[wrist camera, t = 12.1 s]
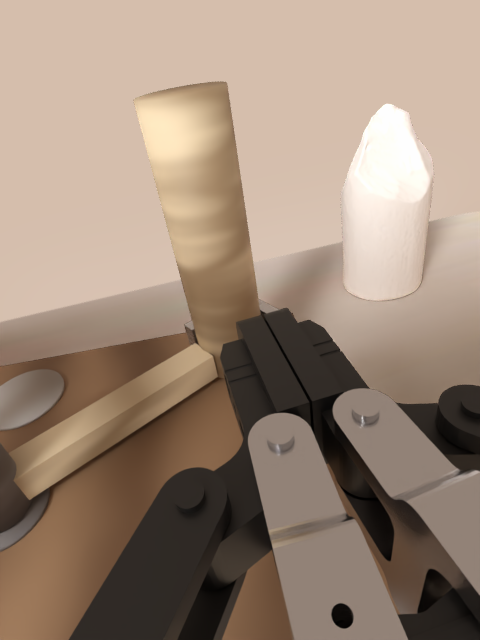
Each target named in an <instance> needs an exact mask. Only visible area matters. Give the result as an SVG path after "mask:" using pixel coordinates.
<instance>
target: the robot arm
mask: <svg viewBox="0 0 480 640" xmlns="http://www.w3.org/2000/svg"><path fill="white" fill-rule="evenodd" d="M236 329H237V334H238V339H239V340H236V341H232V342H228V343H225V344H223V347H222V351H221V355H220V360H221V364H222V369H223V373H224V377H225V381H226V386H227V390H228V394H229V398H230V401H231V404H232V407H233V410H234V413H235V416H236V419H237V422H238V425H239V428H240V431H241V434H242V437H243V442H242V445H241V447H240V448H239V450H238V452H237V453H236V454H235V455H234V456H233V457H232V458H231V459H230V460H229V461H228V462H226V463H225V464H223V465H222V466H220V467H219V468H217V469H216V470H214V471H212V470H210V469H207V468H203V467H194V468H188V469H185V470H182V471H180V472H178V473H176V474H175V475H173V476H172V477H171V478H170V479H168V481H167V482H166V483H165V484H164V485H163V487H162V488H161V489H160V491H159V493H158V494H157V496H156V498H155V499H154V501H153V503H152V504H151V506H150V507H149V509H148V511H147V512H146V514H145V516H144V517H143V519H142V520H141V522H140V524H139V525H138V527H137V529H136V530H135V532H134V534H133V535H132V537H131V538H130V540H129V542H128V543H127V545H126V547H125V548H124V550H123V551H122V553H121V555H120V556H119V558H118V560H117V561H116V563H115V565H114V566H113V568H112V569H111V571H110V573H109V574H108V576H107V578H106V579H105V581H104V582H103V584H102V586H101V587H100V589H99V591H98V592H97V594H96V596H95V597H94V599H93V600H92V602H91V604H90V605H89V607H88V609H87V610H86V612H85V613H84V615H83V617H82V618H81V620H80V622H79V623H78V625H77V627H76V628H75V630H74V631H73V633H72V635H71V636H70V638H69V640H222V638H223V635H224V632H225V630H226V627H227V624H228V622H229V619H230V616H231V614H232V611H233V609H234V606H235V603H236V601H237V598H238V595H239V593H240V590H241V587H242V585H243V582H244V579H245V576H246V573H247V570H248V569H249V568H251V567H252V566H253V565H254V564H255V563H257V562H258V561H259V560H260V559H262V558H263V557H264V556H265V555H266V554H268V553H269V552H270V551H271V550H272V553H273V557H274V562H275V566H276V570H277V574H278V579H279V583H280V587H281V592H282V596H283V600H284V605H285V609H286V613H287V618H288V622H289V626H290V631H291V635H292V639H293V640H480V386H475V385H458V386H453V387H451V388H448V389H447V390H445V391H444V392H443V393H442V394H441V396H440V398H439V402H438V403H434V404H401V403H395V402H394V401H393V400H392V399H391V398H390V397H389V396H387V395H386V394H384V393H382V392H379V391H376V390H373V389H370V388H369V387H368V386H367V385H366V383H365V382H364V381H363V379H362V378H361V377H360V375H359V374H358V373H357V371H356V370H355V369H354V367H353V366H352V365H351V363H350V362H349V361H348V359H347V358H346V357H345V355H344V354H343V353H342V351H341V352H340V349H339V347H338V346H337V345H336V343H335V342H333V339H332V338H331V337H330V335H329V334H328V333H327V331H326V330H325V329H324V328H323V327H321V326H320V325H318V324H316V323H314V322H312V321H311V320H307V321H303V322H299V323H297V321H296V320H295V318H294V317H293V315H292V314H291V312H290V311H289V309H288V308H284V309H280V310H277V311H273V312H270V313H266V314H262V316H261V315H259V316H255V317H252V318H248V319H244V320H241V321H237V322H236ZM326 464H329V465H330V467H331V469H332V471H333V473H334V475H335V485H334V482H333V480H332V478H331V475H330V473H329V470H328V468H327V465H326ZM341 500H342V502H343V504H344V506H345V507H346V509H347V511H348V512H349V514H350V516H349V515H348V514H347V513H346V511H345V509H344V507H343V504H342V502H341ZM367 544H368V545H367ZM368 546H369V547H370V549H371V551H372V553H373V554H374V556H375V558H376V559H377V561H378V563H379V564H380V566H381V568H382V570H383V572H384V575H385V577H386V580H387V584H388V588H389V591H390V593H391V596H392V598H393V600H394V603H395V605H396V607H397V609H398V611H399V612H400V614H397V612H396V610H395V608H394V605H393V603H392V601H391V598H390V596H389V594H388V591H387V589H386V587H385V584H384V582H383V580H382V577H381V575H380V573H379V570H378V568H377V566H376V563H375V561H374V559H373V556H372V554H371V552H370V549H369V547H368Z"/></svg>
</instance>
